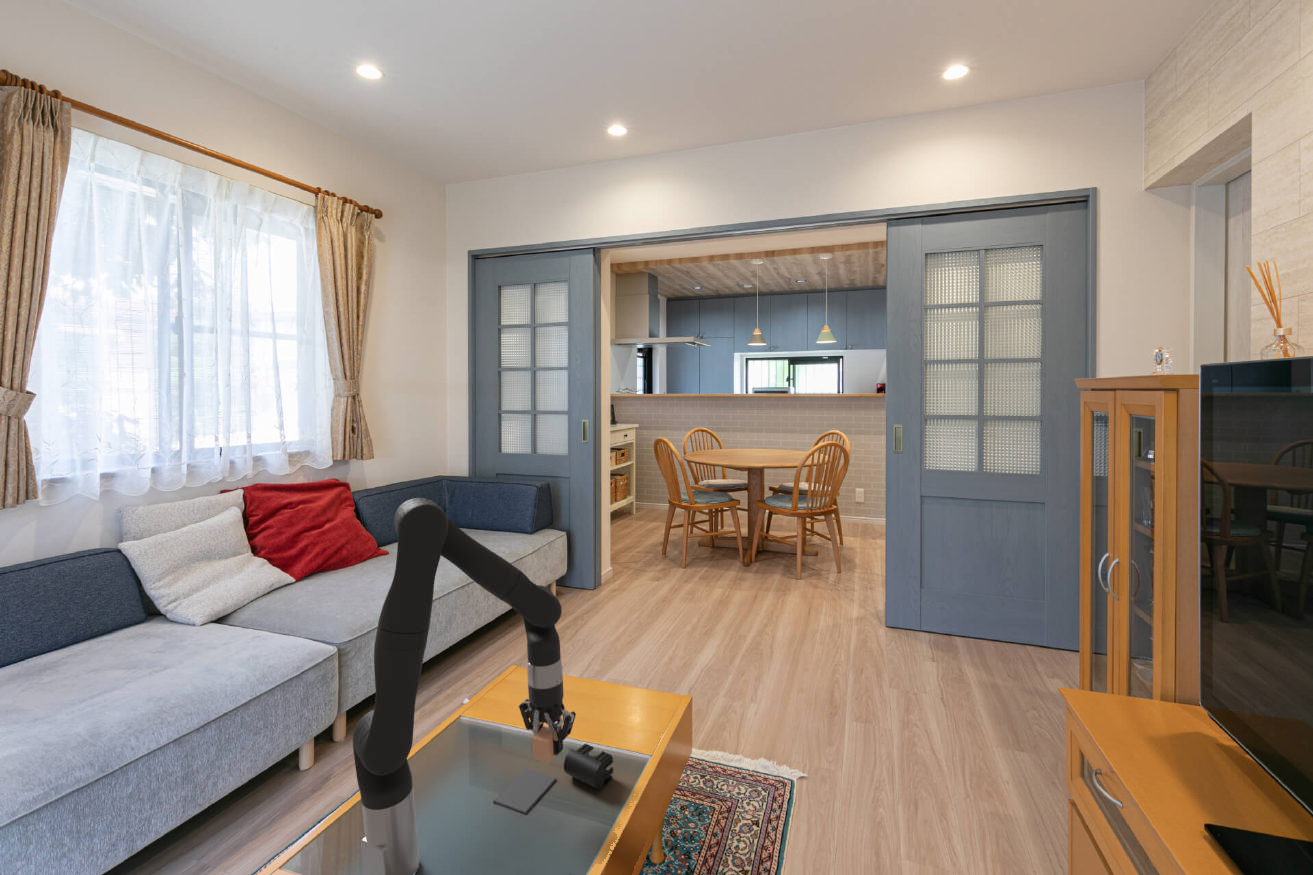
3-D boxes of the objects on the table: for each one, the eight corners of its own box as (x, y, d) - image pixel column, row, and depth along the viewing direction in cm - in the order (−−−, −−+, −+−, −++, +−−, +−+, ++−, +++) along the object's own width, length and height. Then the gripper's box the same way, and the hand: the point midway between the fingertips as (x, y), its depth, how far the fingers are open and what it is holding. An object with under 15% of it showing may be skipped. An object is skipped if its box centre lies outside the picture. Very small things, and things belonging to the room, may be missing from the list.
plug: (548, 762, 134) (547, 741, 133) (533, 758, 135) (531, 737, 135) (570, 739, 141) (569, 719, 141) (555, 735, 143) (554, 715, 142)
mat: (525, 813, 138) (525, 811, 138) (493, 802, 141) (493, 800, 141) (556, 779, 148) (555, 777, 148) (525, 769, 152) (525, 767, 152)
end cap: (563, 781, 148) (562, 755, 147) (583, 764, 154) (582, 739, 153) (595, 797, 142) (594, 770, 141) (615, 779, 148) (614, 753, 147)
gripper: (508, 679, 134) (512, 752, 137) (563, 693, 128) (566, 769, 131) (529, 663, 141) (533, 733, 144) (582, 676, 135) (585, 748, 138)
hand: (549, 749), depth 137 cm, fingers closed on plug, 4 cm apart
